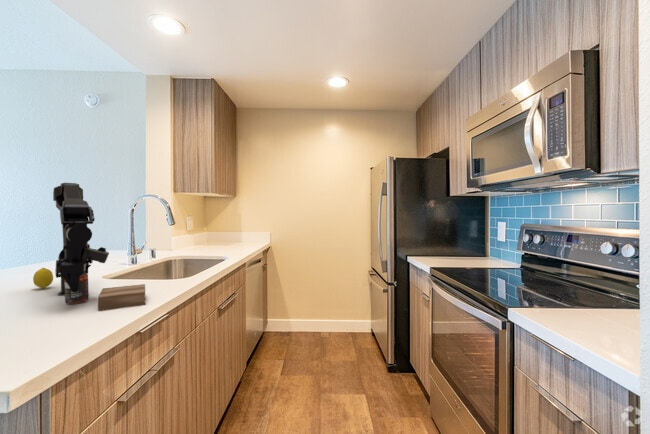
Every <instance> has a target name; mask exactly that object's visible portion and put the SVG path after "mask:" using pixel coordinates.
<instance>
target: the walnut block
mask: <svg viewBox="0 0 650 434" xmlns="http://www.w3.org/2000/svg"><path fill="white" fill-rule="evenodd" d="M144 305H146V284H145V283H143V284H134V285H124V286H114V287H106V288H105V287H104V288H102V289H101V291H100V293H99V294H98V297H97V312H101V311H102V312H103V311H109V310H117V309H123V308H131V307H137V306H144Z"/></svg>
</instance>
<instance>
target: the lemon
mask: <svg viewBox="0 0 650 434" xmlns="http://www.w3.org/2000/svg"><path fill="white" fill-rule="evenodd" d="M32 279H33V280H32V281H33V285H35V287H38V288H40V289H41V290H44V289H46V288H47V287H49V286H50V285H51V284H52V283H53V281H54V274H53V272H52V271H51V269H49V268H46V267H42V268H40V269H38V270H36V271H35V272H34V274H33V277H32Z"/></svg>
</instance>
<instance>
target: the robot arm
mask: <svg viewBox="0 0 650 434" xmlns="http://www.w3.org/2000/svg"><path fill="white" fill-rule="evenodd" d="M52 193H53V194H52V199H53V202H55V207H56V208H57V210H59V217H60V218H59V219H60V223H61V224H60V225H62V226H61V228H62V249H61V250H60V252H59V254H58V258H57V260H55V278H57V279H58V278H60V291H58V293H57V295H58V296H60V295H65V281H66V282H67V284H68V285H69V287H70V289H71V290H72V292H77V291H78V286H79V281H80V276H81V274H83V273H84V272H85V273H87V274H88V275H89V268H90V267H91V265H92V264H93V261H95V262H98V263H99V264H100V263H101V264H105V263H106V262H107V259H108V257H109V254H110V252H108V251H107V249H106V247H102V246H100V247H99V248H98V249H96V248H91V246H90V244H89V243H88V242H90V240H91V239H92V238H93V237H92V236H93V231H92V230H91V228H89V227H88V225H93V224H94V222H95V219H96V218H95V215H94V210H93V209H92V207H91V206H90V205H89V203H88V201H86V200H84V189H83V188H81V187H80V184H79V183H75V182H62V183H60V185H58V186H55V187H54V188H53V192H52Z"/></svg>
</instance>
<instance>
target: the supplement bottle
mask: <svg viewBox="0 0 650 434" xmlns="http://www.w3.org/2000/svg"><path fill="white" fill-rule="evenodd" d="M89 290H90V289H89V273H88V274H87V273H85V272H84V273H83V274H81V276H80V281H79V286H78V291H77V292H72V290H71V289H70V287H69V285H68V284H67V282H66V281H65V294H64V302H65V304H66V305H77V304H83V303H86V302H87V301H88V300H89V298H90V297H89V296H90V295H89Z"/></svg>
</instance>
